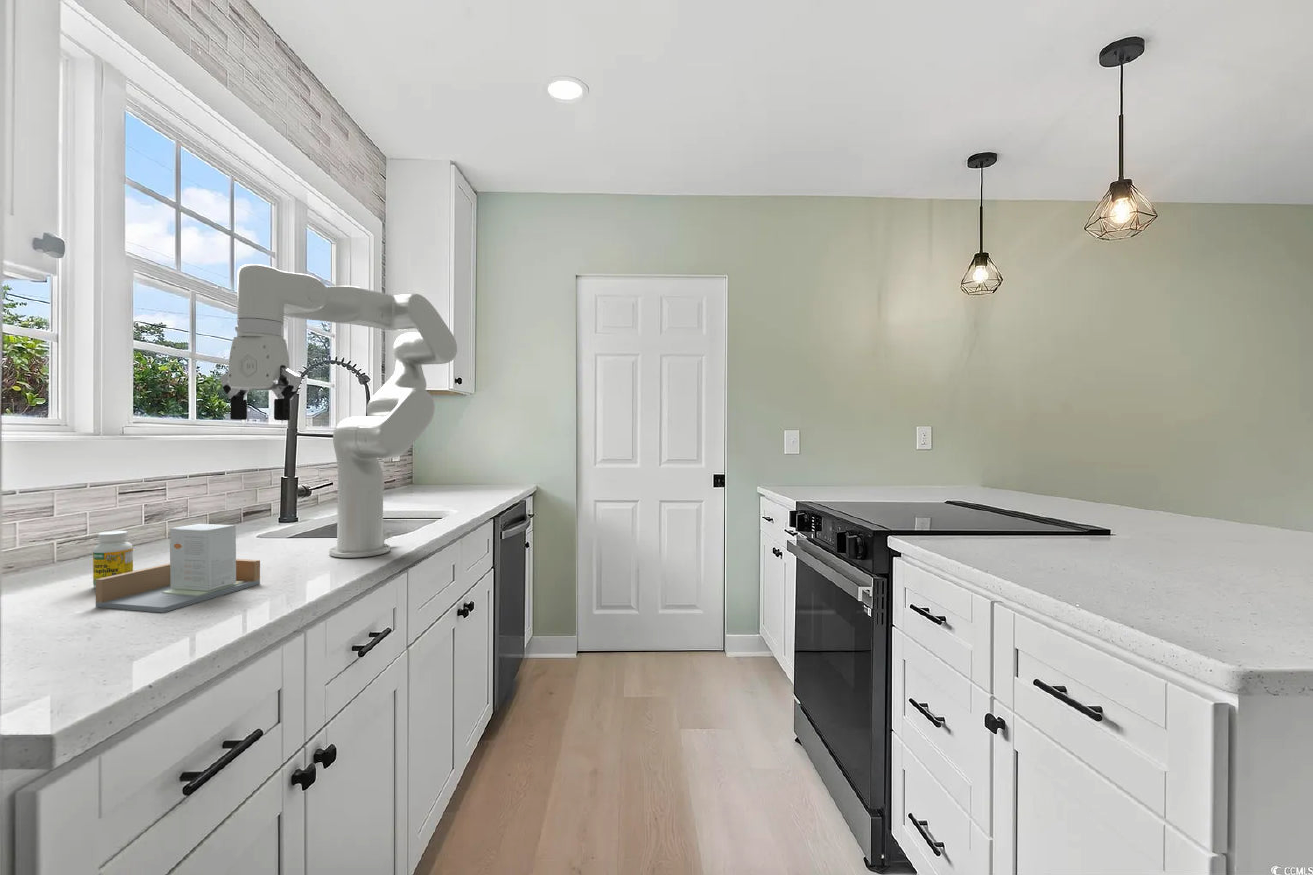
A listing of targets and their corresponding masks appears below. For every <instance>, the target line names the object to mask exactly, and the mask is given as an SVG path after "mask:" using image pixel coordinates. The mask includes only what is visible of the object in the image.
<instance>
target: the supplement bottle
mask: <svg viewBox="0 0 1313 875" xmlns="http://www.w3.org/2000/svg"><path fill="white" fill-rule="evenodd" d="M128 533H129V532H128V531H126V530H114V531H113V530H112V531H105V532H103V531H102V532H99V533H98V534H97V541H98V544H97V545H95V546H94V547H93V549H92V579H93V580H92V585H93V588H94V589H96V579H100V578H104V577H109V576H113V575H118V574H123V573H127V572H132V571H134V546H133V544H132V543H131V542H129V541H127V540H128V539H129V536H128V535H129V534H128Z"/></svg>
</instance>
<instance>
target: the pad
mask: <svg viewBox="0 0 1313 875" xmlns="http://www.w3.org/2000/svg"><path fill="white" fill-rule="evenodd" d="M241 583H244V582H242V581H236V583H234V584H231V585H228V586H224V587H221V588H217V589H214V590H211V591H198V590H184V589H172V590H168V591H164V592H162V593H166V594H179V595H192V596H199V595H202V594H206V593H209V592H213V591H216V590H220V589H223V588H227V587H230V586H234V585H237V584H241Z"/></svg>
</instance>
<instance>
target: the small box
mask: <svg viewBox="0 0 1313 875" xmlns="http://www.w3.org/2000/svg"><path fill="white" fill-rule="evenodd" d="M236 527H237V526H236V525H235V524H234V525H233V524H216V523H215V524H213V523H211V524H210V523H195V524H190V525H183V526H177V527H176V526H175V527H171V528H170V529H169V563H170V588H171V589H184V590H198V591H211V590H214V589H217V588H221V587H224V586H228V585H231V584H234V583H236V559H237V540H236V539H237V533H236V532H237V531H236V529H237V528H236Z"/></svg>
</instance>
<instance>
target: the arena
mask: <svg viewBox="0 0 1313 875" xmlns="http://www.w3.org/2000/svg"><path fill="white" fill-rule="evenodd" d="M236 581H242V582H244V583H241V584H237V585H234V586H230V587H227V588H223V589H220V590H216V591H213V592H209V593H206V594H202V595H199V596H192V595H179V594H166V593H162V592H164V591H168V590H172V589H171V588H170V562H168V563H165V564H159V565H156V566H151V567H146V568H142V569H138V570H133V571H132V572H127V573H123V574H118V575H113V576H109V577H104V578H100V579H96V588H95V608H102V609H103V608H104V609H105V608H106V609H116V610H126V611H128V610H129V611H137V612H138V611H141V612H150V613H151V612H153V613H166V612H170V611H173V610H177V609H180V608H183V607H187V606H190V605H194V604H198V603H200V602H204V601H208V600H211V599H213V598H218V597H221V596H224V595H228V594H231V593H233V592H234V593H235V592H239V591H240V590H244V589H248V588H251V587H254V586H259V585H260V584H261V560H260V559H248V558H247V559H246V558H244V559H243V558H236Z"/></svg>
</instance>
